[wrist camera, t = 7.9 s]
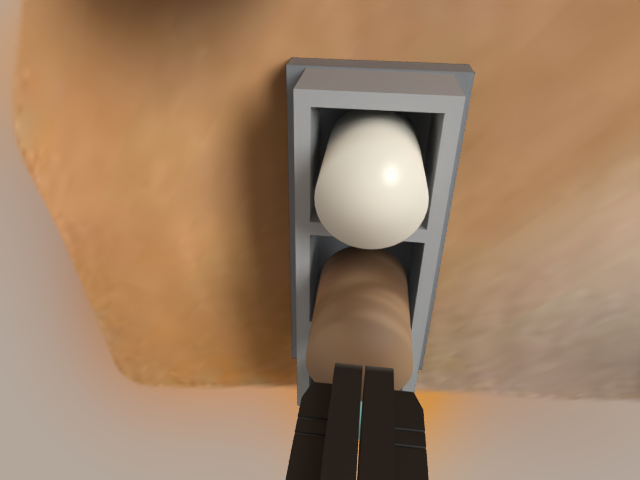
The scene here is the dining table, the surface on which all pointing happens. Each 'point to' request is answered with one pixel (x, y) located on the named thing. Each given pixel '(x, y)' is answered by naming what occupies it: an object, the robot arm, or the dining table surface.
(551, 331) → the dining table surface
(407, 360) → the brown rounded cylinder
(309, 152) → the grey compartment tray
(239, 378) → the dining table surface
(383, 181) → the white rounded piece
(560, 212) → the dining table surface
